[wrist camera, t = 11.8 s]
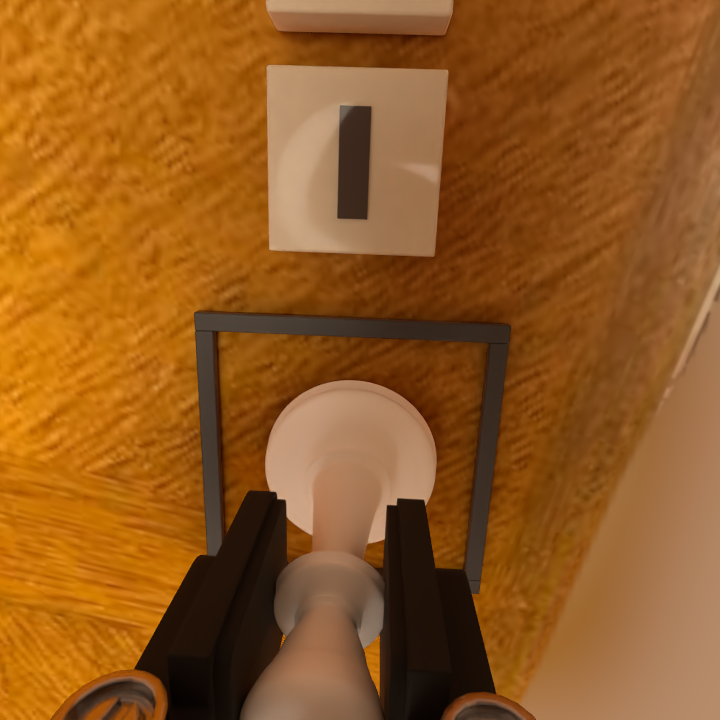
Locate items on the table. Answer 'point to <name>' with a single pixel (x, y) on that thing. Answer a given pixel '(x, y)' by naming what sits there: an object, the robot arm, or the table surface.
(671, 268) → the table surface
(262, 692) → the chess piece
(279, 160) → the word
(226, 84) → the table surface
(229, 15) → the table surface
